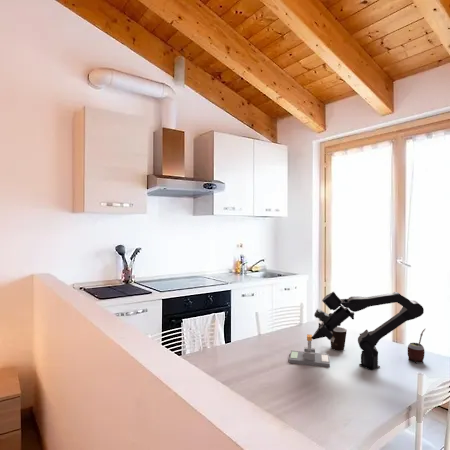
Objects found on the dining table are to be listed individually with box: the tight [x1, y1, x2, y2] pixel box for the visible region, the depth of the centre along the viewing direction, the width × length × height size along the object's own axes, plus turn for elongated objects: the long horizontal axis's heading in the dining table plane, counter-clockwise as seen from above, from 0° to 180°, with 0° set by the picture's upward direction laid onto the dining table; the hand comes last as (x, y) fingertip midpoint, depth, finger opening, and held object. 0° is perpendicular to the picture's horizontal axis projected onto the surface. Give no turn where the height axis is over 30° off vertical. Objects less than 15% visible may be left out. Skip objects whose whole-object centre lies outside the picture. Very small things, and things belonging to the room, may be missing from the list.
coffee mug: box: [329, 326, 347, 352], centre depth 182 cm, size 12×9×10 cm
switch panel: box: [288, 346, 331, 368], centre depth 165 cm, size 18×12×4 cm, turn 75°
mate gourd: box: [407, 328, 426, 364], centre depth 166 cm, size 8×8×15 cm
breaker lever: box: [306, 334, 313, 352], centre depth 165 cm, size 2×4×10 cm, turn 165°
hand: (312, 338), depth 165 cm, fingers closed, pressing on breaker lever
